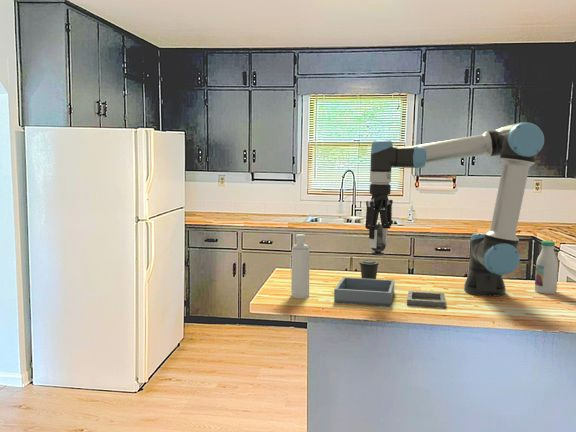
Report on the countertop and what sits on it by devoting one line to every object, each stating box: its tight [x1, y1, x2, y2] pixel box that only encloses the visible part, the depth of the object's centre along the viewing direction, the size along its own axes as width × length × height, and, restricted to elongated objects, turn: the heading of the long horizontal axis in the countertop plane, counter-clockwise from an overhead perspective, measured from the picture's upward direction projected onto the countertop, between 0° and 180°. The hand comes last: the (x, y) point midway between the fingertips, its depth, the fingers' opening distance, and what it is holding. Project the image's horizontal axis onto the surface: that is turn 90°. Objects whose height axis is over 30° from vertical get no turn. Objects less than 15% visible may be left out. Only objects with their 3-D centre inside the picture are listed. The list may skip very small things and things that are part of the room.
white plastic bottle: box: [291, 233, 310, 299], centre depth 200 cm, size 7×7×25 cm
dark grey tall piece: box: [370, 221, 387, 257], centre depth 196 cm, size 6×6×12 cm
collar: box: [406, 290, 446, 309], centre depth 194 cm, size 13×13×2 cm
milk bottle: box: [534, 240, 559, 295], centre depth 207 cm, size 8×8×20 cm
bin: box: [333, 276, 395, 308], centre depth 199 cm, size 20×20×5 cm
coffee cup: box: [358, 259, 380, 279], centre depth 219 cm, size 8×8×10 cm
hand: (377, 246), depth 196 cm, fingers closed on dark grey tall piece, 6 cm apart
